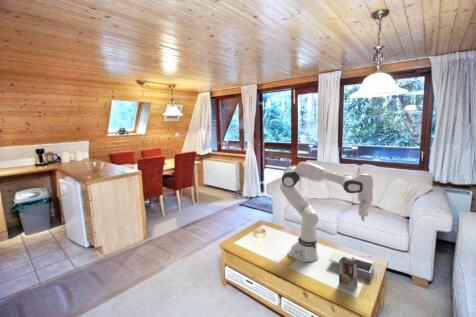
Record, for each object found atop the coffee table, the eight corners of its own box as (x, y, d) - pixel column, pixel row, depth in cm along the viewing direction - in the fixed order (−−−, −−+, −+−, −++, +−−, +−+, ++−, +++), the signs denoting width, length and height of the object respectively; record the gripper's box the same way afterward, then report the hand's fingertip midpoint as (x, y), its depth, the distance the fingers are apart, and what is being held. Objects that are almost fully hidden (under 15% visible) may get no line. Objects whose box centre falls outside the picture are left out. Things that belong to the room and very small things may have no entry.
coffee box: (357, 286, 149) (358, 261, 147) (353, 291, 144) (353, 265, 142) (343, 279, 155) (343, 256, 154) (338, 284, 151) (338, 259, 149)
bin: (345, 272, 162) (345, 265, 162) (350, 264, 172) (350, 257, 171) (370, 280, 153) (370, 272, 153) (373, 271, 163) (373, 263, 162)
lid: (328, 260, 168) (329, 256, 168) (334, 252, 178) (334, 249, 178) (351, 266, 159) (351, 263, 159) (355, 258, 169) (356, 254, 169)
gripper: (367, 202, 148) (366, 224, 150) (373, 195, 164) (372, 214, 166) (356, 201, 152) (355, 222, 154) (362, 193, 168) (362, 213, 169)
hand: (364, 218), depth 160 cm, fingers open, 8 cm apart
